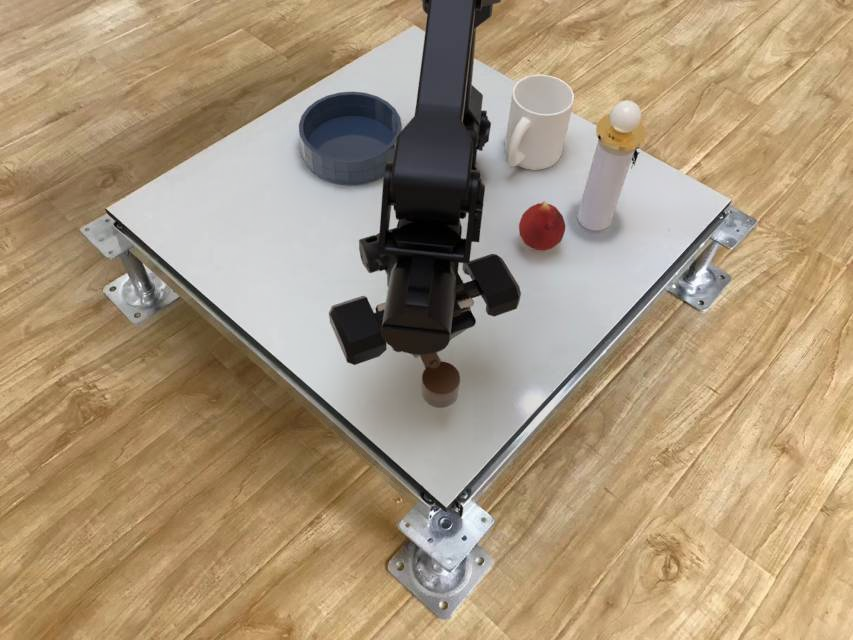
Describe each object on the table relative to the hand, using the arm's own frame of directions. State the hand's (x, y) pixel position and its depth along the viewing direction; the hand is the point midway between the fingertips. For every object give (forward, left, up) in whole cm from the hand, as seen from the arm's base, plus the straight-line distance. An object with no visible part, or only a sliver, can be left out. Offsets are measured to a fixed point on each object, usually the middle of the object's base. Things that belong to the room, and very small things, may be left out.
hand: (424, 350), depth 84 cm
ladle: (0, +2, -2) cm, 2 cm away
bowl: (-5, -39, -7) cm, 40 cm away
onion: (-22, -13, -7) cm, 26 cm away
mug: (-28, -28, -7) cm, 40 cm away
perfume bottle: (-31, -14, -7) cm, 35 cm away
